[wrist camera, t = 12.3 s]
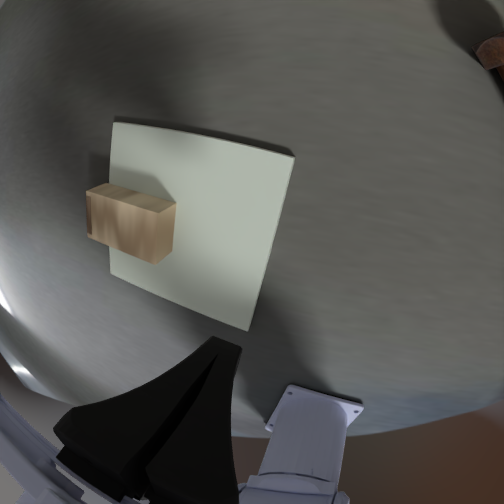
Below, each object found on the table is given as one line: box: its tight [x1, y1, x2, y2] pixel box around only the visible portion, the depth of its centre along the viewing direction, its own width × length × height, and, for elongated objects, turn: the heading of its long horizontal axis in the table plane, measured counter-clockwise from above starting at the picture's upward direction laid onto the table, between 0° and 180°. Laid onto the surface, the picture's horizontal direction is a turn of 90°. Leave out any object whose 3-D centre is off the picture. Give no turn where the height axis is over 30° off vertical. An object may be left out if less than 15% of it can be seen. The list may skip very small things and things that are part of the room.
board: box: [109, 122, 295, 332], centre depth 21 cm, size 14×14×1 cm
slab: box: [86, 183, 177, 265], centre depth 21 cm, size 4×2×7 cm
